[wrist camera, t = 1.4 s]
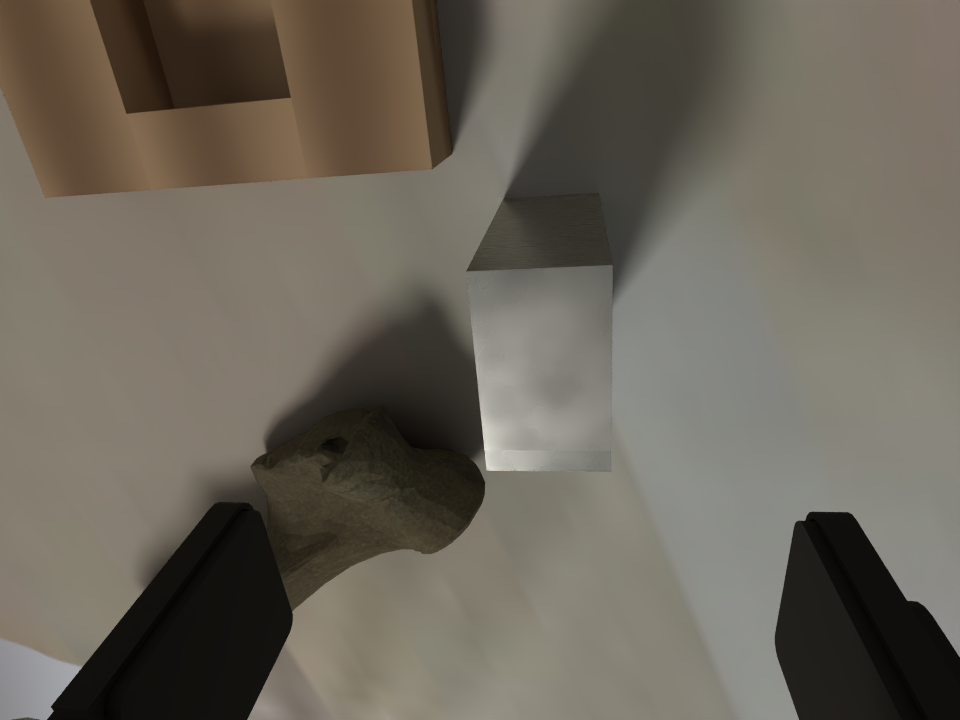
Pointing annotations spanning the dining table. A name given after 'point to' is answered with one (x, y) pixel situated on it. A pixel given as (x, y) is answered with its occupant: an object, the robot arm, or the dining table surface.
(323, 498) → the bone
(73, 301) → the dining table surface
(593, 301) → the grey rectangular prism
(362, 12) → the well block
